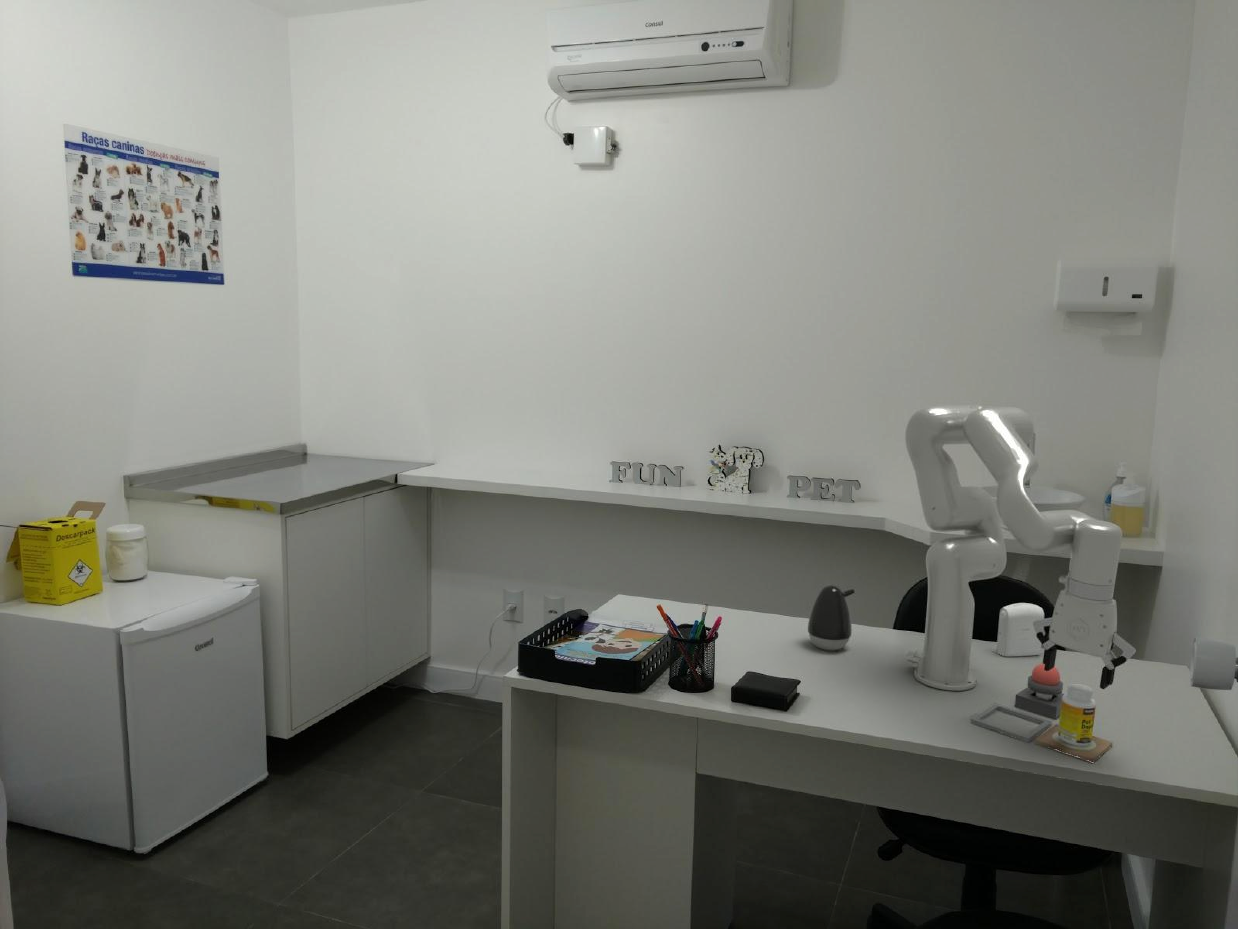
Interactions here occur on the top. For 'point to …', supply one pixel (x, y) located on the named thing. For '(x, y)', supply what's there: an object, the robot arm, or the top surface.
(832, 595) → the pump dispenser
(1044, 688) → the dome cap
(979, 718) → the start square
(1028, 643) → the photo printer
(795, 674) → the top surface
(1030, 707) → the dome housing
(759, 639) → the top surface
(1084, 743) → the supplement bottle
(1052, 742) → the pad
